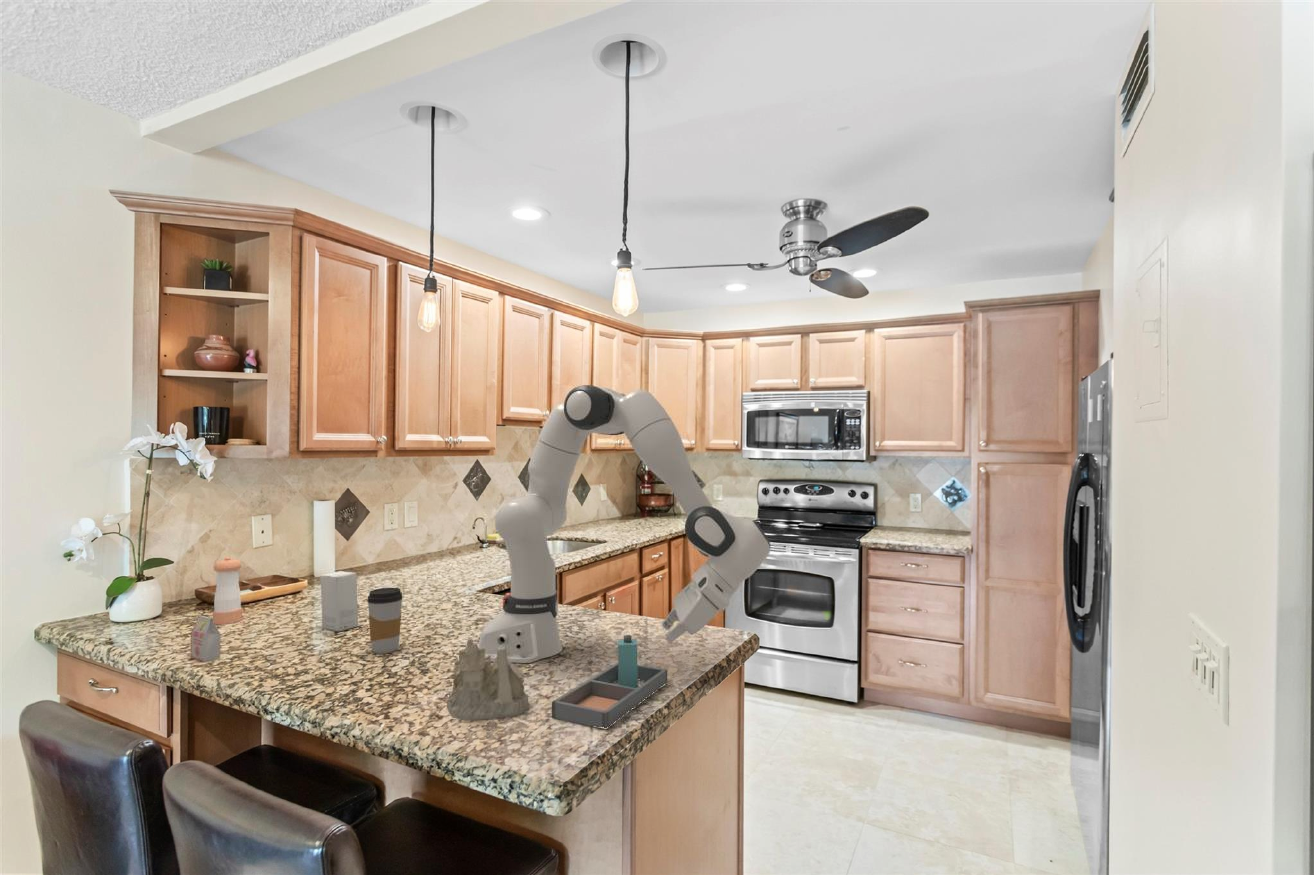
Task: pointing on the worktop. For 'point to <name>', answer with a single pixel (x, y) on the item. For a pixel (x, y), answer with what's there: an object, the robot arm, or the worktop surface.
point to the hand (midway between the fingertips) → (665, 633)
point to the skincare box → (339, 601)
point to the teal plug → (627, 662)
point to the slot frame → (606, 697)
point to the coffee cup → (385, 619)
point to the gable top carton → (205, 640)
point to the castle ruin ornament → (486, 686)
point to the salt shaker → (227, 592)
